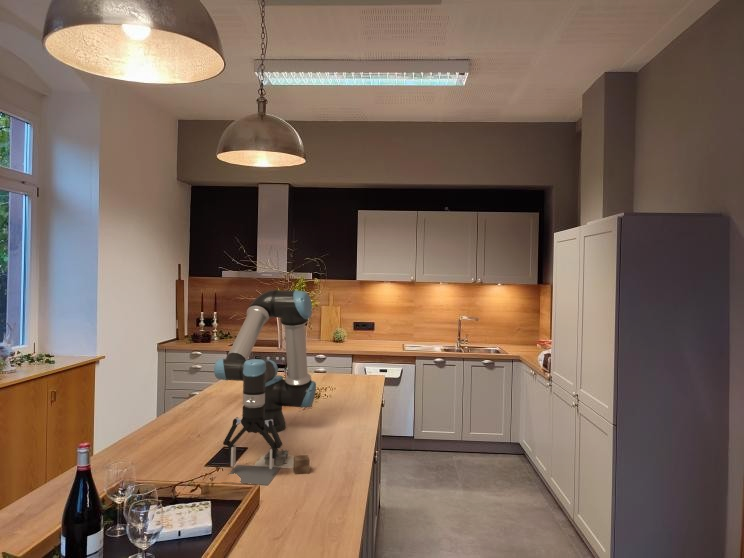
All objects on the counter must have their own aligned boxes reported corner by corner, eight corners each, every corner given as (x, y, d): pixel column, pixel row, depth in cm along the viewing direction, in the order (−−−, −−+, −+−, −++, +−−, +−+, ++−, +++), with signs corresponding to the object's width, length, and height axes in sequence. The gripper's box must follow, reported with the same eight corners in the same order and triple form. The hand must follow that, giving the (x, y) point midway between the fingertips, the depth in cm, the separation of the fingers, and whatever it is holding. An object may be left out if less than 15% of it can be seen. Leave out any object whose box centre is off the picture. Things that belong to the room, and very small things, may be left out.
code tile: (253, 466, 190) (253, 465, 190) (263, 455, 202) (263, 454, 202) (291, 468, 189) (291, 468, 189) (299, 457, 201) (299, 456, 201)
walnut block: (294, 474, 184) (295, 460, 184) (293, 469, 188) (293, 455, 188) (309, 473, 185) (309, 459, 185) (307, 468, 190) (307, 454, 190)
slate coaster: (220, 482, 175) (220, 481, 175) (237, 465, 191) (237, 464, 191) (267, 485, 173) (267, 484, 173) (280, 467, 189) (280, 467, 189)
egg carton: (271, 455, 201) (272, 445, 201) (290, 457, 200) (291, 446, 200) (261, 465, 191) (262, 453, 191) (281, 466, 190) (282, 455, 190)
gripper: (214, 406, 179) (213, 468, 180) (286, 409, 177) (284, 472, 177) (222, 400, 187) (221, 460, 187) (291, 404, 185) (290, 464, 185)
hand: (252, 466), depth 182 cm, fingers open, 13 cm apart
